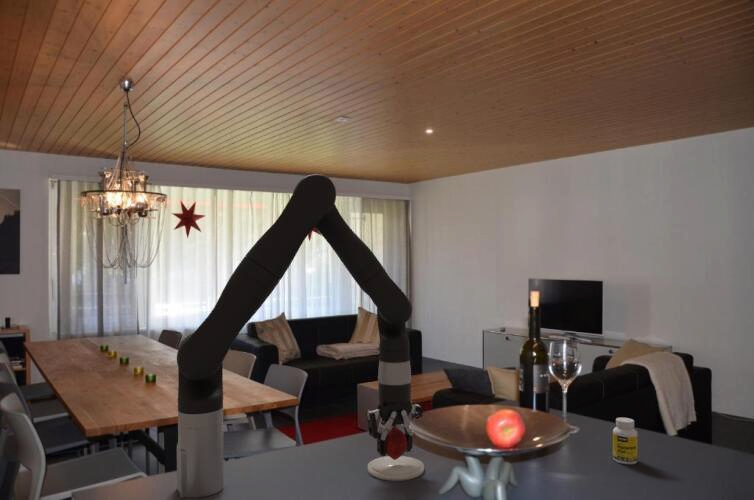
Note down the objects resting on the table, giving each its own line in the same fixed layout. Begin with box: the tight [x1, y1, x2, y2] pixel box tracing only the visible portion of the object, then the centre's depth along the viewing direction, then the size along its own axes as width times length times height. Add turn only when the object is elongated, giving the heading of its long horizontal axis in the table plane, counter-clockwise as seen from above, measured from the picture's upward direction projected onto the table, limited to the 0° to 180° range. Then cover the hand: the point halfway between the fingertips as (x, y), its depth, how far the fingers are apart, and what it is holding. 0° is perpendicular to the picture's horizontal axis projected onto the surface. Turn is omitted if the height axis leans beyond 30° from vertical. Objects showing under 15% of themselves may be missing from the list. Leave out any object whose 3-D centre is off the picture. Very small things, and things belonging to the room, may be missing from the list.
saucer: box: [367, 455, 425, 482], centre depth 135 cm, size 13×13×1 cm
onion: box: [385, 424, 408, 460], centre depth 135 cm, size 6×6×8 cm
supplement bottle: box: [612, 417, 639, 465], centre depth 139 cm, size 5×5×10 cm
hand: (395, 452), depth 135 cm, fingers closed on onion, 5 cm apart
